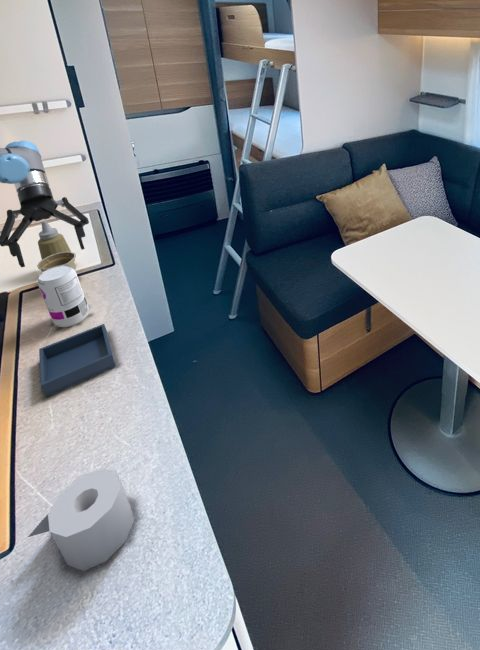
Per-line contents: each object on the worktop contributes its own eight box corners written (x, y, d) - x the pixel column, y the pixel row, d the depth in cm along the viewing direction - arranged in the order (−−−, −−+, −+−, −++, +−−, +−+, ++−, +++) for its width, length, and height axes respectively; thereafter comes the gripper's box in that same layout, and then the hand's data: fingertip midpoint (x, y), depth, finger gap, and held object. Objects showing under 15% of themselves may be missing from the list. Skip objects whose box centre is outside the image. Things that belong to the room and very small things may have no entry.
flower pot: (65, 294, 122) (56, 270, 119) (38, 291, 124) (28, 267, 120) (90, 276, 131) (82, 252, 127) (65, 273, 132) (57, 250, 129)
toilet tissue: (45, 527, 66) (27, 494, 63) (137, 492, 71) (125, 459, 68) (26, 595, 59) (4, 561, 55) (130, 551, 63) (116, 517, 60)
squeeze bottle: (49, 280, 129) (30, 230, 122) (44, 270, 134) (25, 222, 127) (79, 269, 134) (62, 220, 127) (73, 260, 139) (56, 212, 132)
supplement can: (50, 332, 107) (31, 285, 102) (58, 313, 114) (40, 268, 109) (87, 323, 110) (70, 277, 105) (92, 305, 117) (76, 260, 112)
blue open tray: (44, 360, 99) (39, 348, 97) (107, 334, 106) (104, 323, 105) (46, 397, 89) (40, 385, 88) (116, 366, 97) (112, 354, 95)
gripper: (86, 184, 128) (106, 245, 123) (-20, 208, 114) (-2, 277, 109) (83, 173, 123) (104, 236, 117) (-29, 197, 108) (-11, 269, 103)
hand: (53, 256), depth 113 cm, fingers open, 13 cm apart
